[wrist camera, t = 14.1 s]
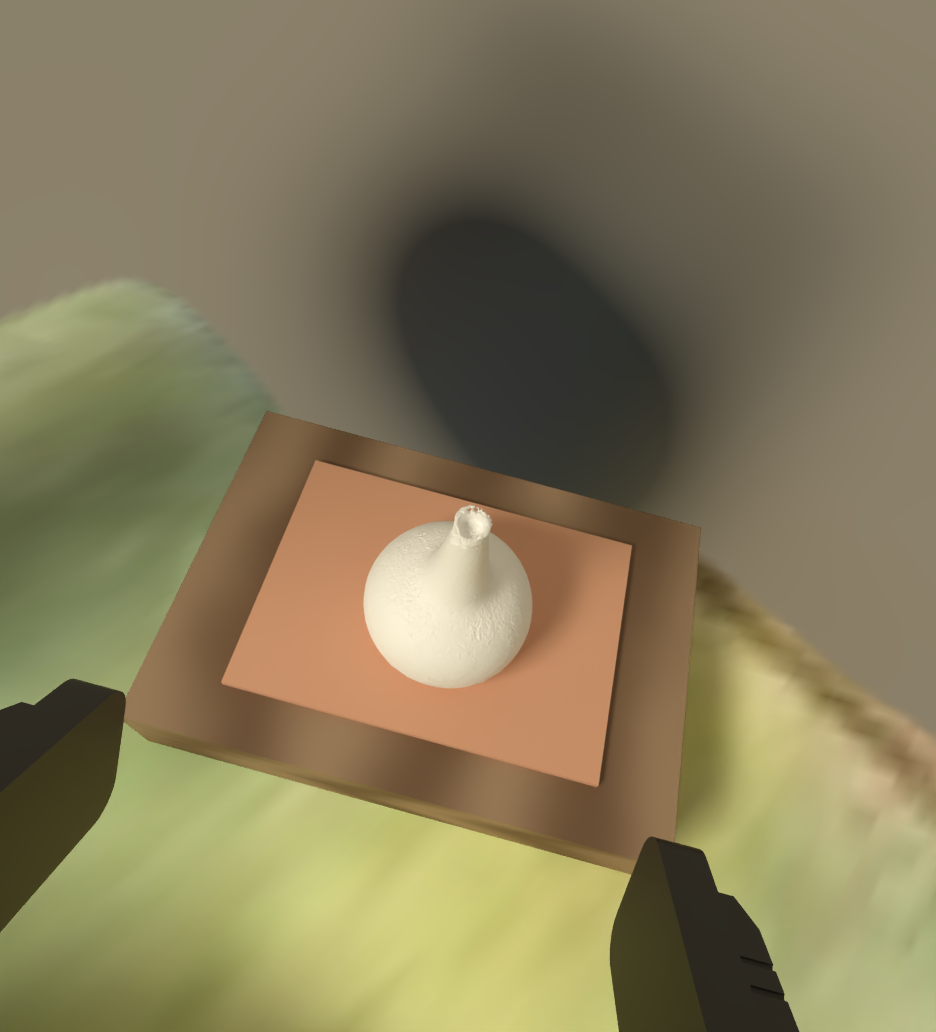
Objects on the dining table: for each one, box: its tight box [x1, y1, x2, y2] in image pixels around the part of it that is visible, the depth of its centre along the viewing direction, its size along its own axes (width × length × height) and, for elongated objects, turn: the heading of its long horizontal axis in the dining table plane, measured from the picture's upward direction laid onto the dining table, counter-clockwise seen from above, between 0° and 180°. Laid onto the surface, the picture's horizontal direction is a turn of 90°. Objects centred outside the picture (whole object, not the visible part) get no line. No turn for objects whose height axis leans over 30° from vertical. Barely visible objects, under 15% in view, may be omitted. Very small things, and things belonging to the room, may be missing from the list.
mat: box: [221, 460, 632, 787], centre depth 28 cm, size 14×10×1 cm
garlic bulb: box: [363, 505, 533, 689], centre depth 25 cm, size 6×6×8 cm
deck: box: [124, 411, 701, 874], centre depth 30 cm, size 20×14×4 cm
